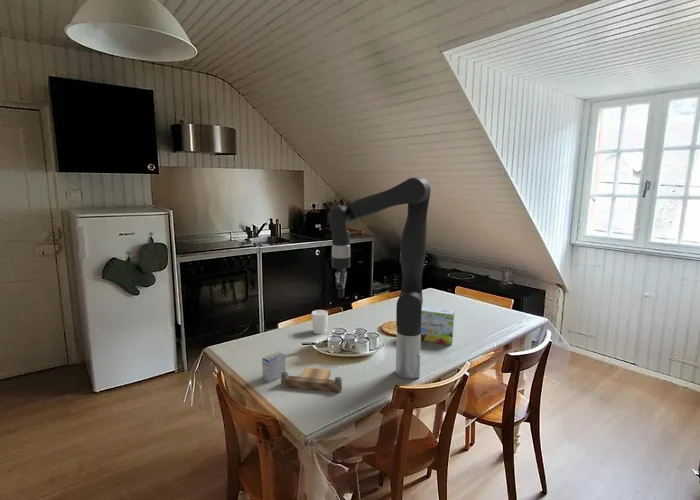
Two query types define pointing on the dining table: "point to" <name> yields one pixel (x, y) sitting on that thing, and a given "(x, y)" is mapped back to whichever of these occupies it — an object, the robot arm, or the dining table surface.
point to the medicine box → (273, 366)
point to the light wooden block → (316, 373)
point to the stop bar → (311, 383)
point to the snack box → (437, 325)
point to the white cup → (319, 321)
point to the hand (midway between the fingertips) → (341, 297)
